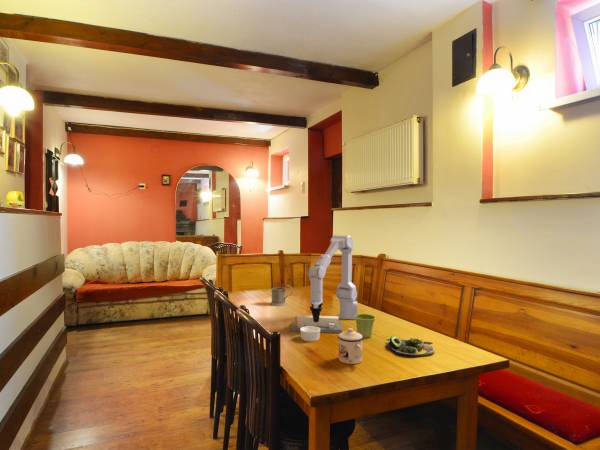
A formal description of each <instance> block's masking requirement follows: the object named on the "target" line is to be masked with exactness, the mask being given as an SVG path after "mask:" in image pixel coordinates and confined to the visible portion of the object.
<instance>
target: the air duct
mask: <svg viewBox="0 0 600 450" xmlns="http://www.w3.org/2000/svg"><path fill="white" fill-rule="evenodd" d="M339 320H340V319H339V315H320V316H319V321H318V322H314V321H313V315H312V314H294V316H293V321H294V326H298V322H303V326H323V327H329V323H334V327H338V323H339Z"/></svg>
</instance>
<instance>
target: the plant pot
mask: <svg viewBox="0 0 600 450" xmlns="http://www.w3.org/2000/svg"><path fill="white" fill-rule="evenodd" d="M354 317H355V319H354V320H355V324H356V332H357V333H359V334H361V335H362V336H363V339H367V338H372V335H373V328H374V327H373V326H374V322H375V320H376V318H377V317H376V316H375V315H373V314H370V313H369V314H368V313H358V314H357V315H355V316H354Z"/></svg>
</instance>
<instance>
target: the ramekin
mask: <svg viewBox="0 0 600 450" xmlns="http://www.w3.org/2000/svg"><path fill="white" fill-rule="evenodd" d="M300 331H301V332H300V339H301V340H302V341H304V342H305V341H306V342H316V341H318V340H319V339H320V334H321V332H320V328H319V327H315V326H305V327H302V328H300Z"/></svg>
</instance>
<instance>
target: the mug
mask: <svg viewBox="0 0 600 450" xmlns="http://www.w3.org/2000/svg"><path fill="white" fill-rule="evenodd" d="M287 288H290V289H291V293H290V294H288V295H286V292H287ZM293 292H294V290H293V287H292V286H291V285H289V284H287V285H286V287H280V286H278V287H271V303H270V304H269V306H273V307H283V306H286V305H287V303H286V298H288V297H289V296H292V294H294V293H293Z"/></svg>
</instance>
